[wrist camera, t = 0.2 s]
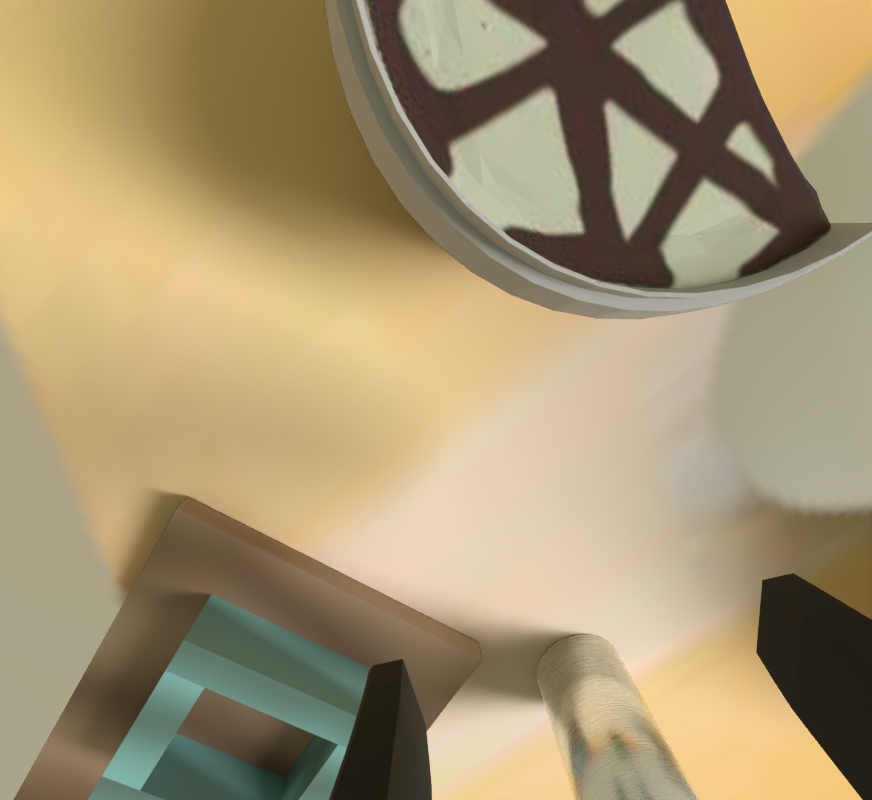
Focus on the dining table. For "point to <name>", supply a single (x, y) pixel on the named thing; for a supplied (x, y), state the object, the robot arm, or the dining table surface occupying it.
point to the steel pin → (606, 726)
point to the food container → (584, 149)
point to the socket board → (236, 674)
